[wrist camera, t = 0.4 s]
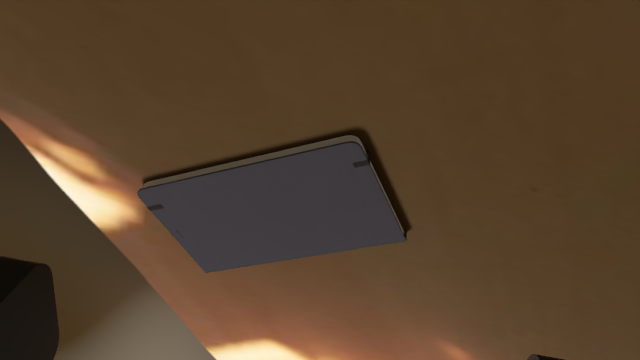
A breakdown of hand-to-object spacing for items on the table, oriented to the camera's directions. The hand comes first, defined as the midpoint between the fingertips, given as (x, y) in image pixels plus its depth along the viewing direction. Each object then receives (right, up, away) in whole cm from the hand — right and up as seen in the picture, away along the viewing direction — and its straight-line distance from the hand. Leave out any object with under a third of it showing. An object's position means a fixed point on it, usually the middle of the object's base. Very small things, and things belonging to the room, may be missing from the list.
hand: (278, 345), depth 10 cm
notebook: (-3, +1, +44) cm, 44 cm away
